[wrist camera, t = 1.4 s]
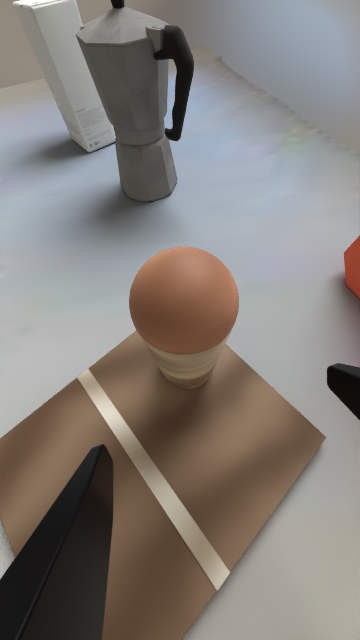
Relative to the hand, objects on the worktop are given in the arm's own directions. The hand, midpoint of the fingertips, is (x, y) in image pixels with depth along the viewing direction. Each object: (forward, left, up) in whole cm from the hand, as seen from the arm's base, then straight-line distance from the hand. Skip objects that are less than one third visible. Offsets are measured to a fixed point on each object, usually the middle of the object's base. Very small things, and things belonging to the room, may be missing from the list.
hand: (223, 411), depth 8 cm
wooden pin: (+4, -2, -11) cm, 12 cm away
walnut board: (+1, +5, -12) cm, 13 cm away
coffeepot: (+29, -18, -12) cm, 37 cm away
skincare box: (+50, -19, -12) cm, 55 cm away
